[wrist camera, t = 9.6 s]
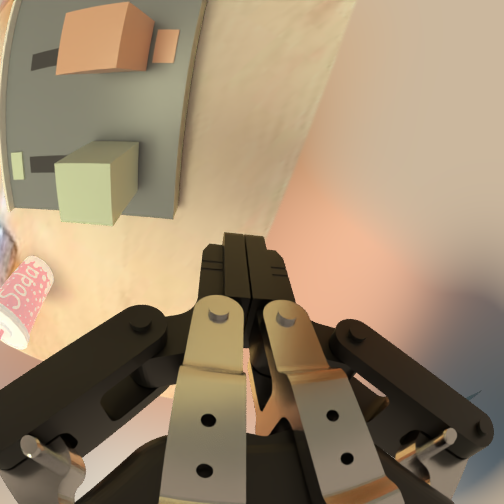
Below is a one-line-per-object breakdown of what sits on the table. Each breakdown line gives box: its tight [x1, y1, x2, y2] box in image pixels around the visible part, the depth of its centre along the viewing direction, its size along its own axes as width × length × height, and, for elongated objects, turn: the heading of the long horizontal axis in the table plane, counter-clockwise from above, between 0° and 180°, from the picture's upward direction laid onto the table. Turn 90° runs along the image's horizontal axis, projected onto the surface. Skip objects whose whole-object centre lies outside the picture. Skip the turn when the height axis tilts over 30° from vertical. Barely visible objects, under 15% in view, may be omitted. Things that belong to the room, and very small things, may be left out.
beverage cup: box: [0, 256, 54, 350], centre depth 19 cm, size 6×6×14 cm
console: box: [0, 0, 207, 219], centre depth 13 cm, size 25×16×3 cm, turn 170°
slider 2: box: [54, 141, 139, 226], centre depth 15 cm, size 4×4×5 cm
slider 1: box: [56, 2, 155, 75], centre depth 10 cm, size 4×4×5 cm
